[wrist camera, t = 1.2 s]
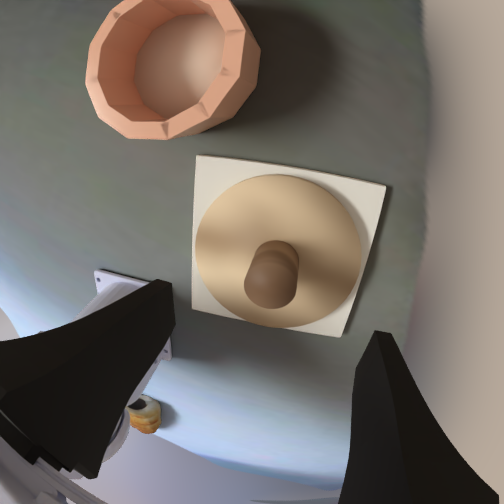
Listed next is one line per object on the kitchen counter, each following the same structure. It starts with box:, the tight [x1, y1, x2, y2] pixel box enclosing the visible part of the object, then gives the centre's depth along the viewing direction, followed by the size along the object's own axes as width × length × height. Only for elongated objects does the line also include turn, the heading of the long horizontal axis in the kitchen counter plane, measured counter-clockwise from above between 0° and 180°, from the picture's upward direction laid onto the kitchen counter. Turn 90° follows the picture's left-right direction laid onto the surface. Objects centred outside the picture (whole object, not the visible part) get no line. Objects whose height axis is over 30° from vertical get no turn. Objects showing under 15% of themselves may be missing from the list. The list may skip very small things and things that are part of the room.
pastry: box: [125, 394, 161, 434], centre depth 35 cm, size 9×7×4 cm
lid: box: [195, 174, 362, 328], centre depth 20 cm, size 12×12×4 cm
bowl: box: [85, 0, 261, 140], centre depth 15 cm, size 10×10×5 cm
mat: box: [192, 154, 386, 338], centre depth 22 cm, size 13×13×1 cm
